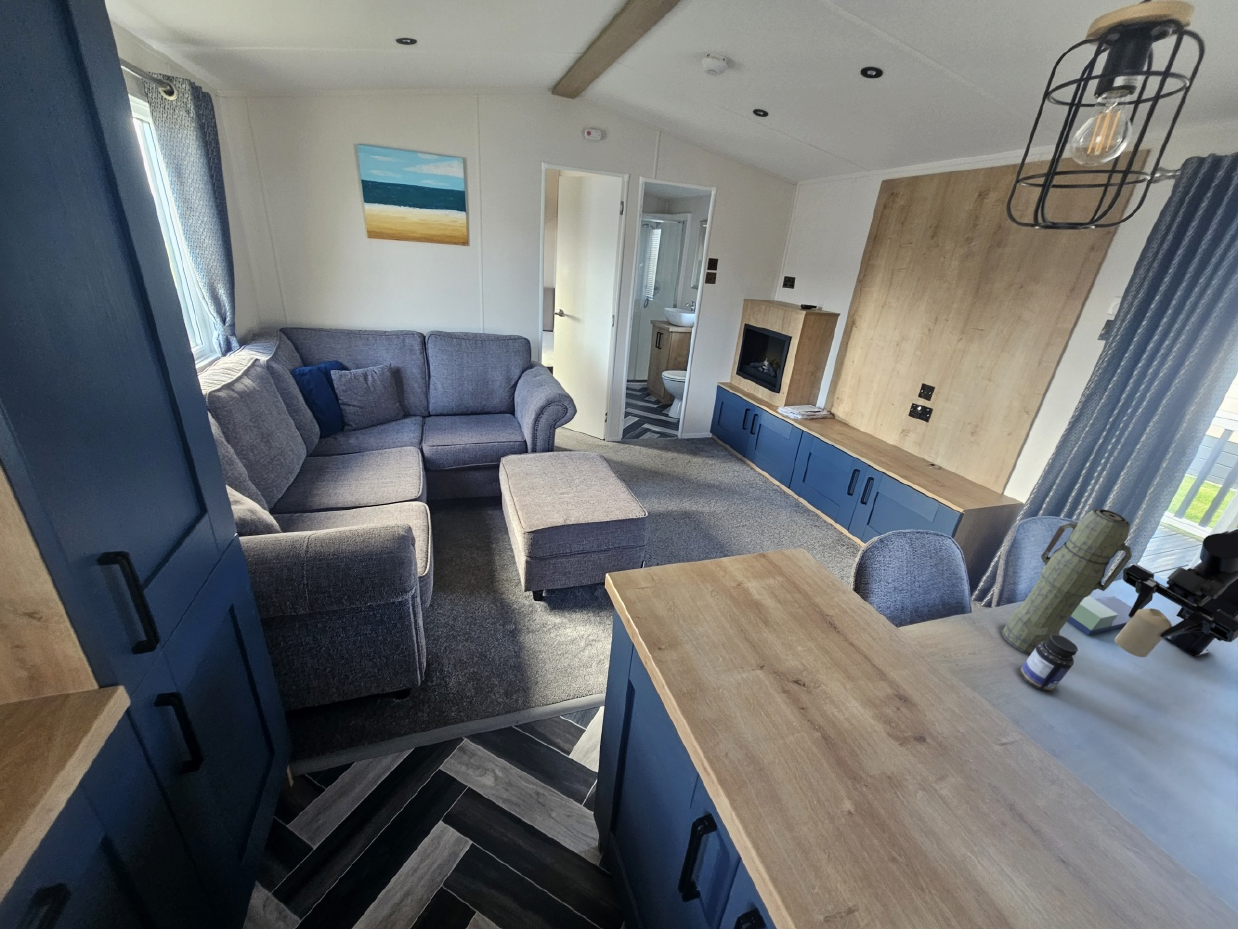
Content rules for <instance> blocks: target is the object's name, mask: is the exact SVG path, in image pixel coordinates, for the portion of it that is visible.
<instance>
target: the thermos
mask: <svg viewBox="0 0 1238 929" xmlns="http://www.w3.org/2000/svg"><path fill="white" fill-rule="evenodd" d="M1067 529H1072V531H1071V532H1070V534H1069V536H1068V539H1067V541H1064V543H1063V544H1062V546H1060V547H1059V548H1058V549H1056V550H1055V551H1054V552H1053V553H1052V554H1051V552H1052V550H1053V549H1054V547H1055V546H1056V545H1057V543H1058V541H1059V540H1060V539H1061V537H1062V535H1063V534H1064V533H1065V531H1066V530H1067ZM1130 529H1131V522H1130V521H1129V520H1127V518H1126V517H1124V516H1123V515H1121V514H1119V513H1117V512H1115V511H1111V510H1109V509H1104V508H1094V509H1092V510H1091V511H1089V512H1087V513H1086V514H1085V515H1084V516H1083V517H1082V518H1081V519H1079V521H1078V522H1077V523H1076V522H1073V521H1070V522H1067V523H1063V524H1060V525H1059V527H1058V529H1057V530H1056V532H1055V533H1054V535H1053V537H1052V538H1051V540H1050V542H1049V544H1048V545H1047V547H1046V548H1045V550H1044V551H1043V552H1042V554H1041V555H1040V558H1041V560H1042V563H1044V566H1043V567H1042V569H1041V571H1040V577H1039V579H1038V580H1037V581H1036V583H1035V584H1034V585H1033V587H1032V589H1031V590H1030V592H1029V594H1027V596H1026V598H1025V599H1024V601H1023V602H1022V603H1021V605H1020V606H1018V607H1016V609H1014V610H1013V612H1011V614H1010V615H1009V617H1008V619H1007V621H1006V624H1005V626H1004V627H1003V628H1002V629H1001V635H1002V637H1003V638H1004V640H1005V641H1006V642H1007V643H1008V644H1009V645H1011V646H1012V647H1013V648H1014V649H1016V650H1017V651H1020V652H1021V653H1023V654H1026V655H1028V656H1030V655H1031V654H1032V652H1033V651H1034V649H1035V648H1036V647H1037V645H1038V644H1039V643H1040V642H1044V641H1046V642H1047V639H1048V638H1049V636H1050V635H1051V634H1057V635H1061V630H1062V628H1063V627H1064V626H1065V624H1067V622H1068V621H1067V620H1068V619H1069V618H1070V616H1071V615H1072V614H1073V612H1074V611H1075V609H1076V608H1077V607H1078V605H1079V604H1080V603H1081V601H1082V600H1083V599H1084V598H1085V597H1087V596H1091V595H1092V593H1093V592H1094V591H1096V590H1099V591H1102V592H1105V591H1106V590H1107V589H1108V588H1109V587H1110V586H1111V584H1113V582H1114V581H1115V579H1117V577H1118V576H1119V574H1120V573H1121V572H1122V571H1123V569H1124V568H1125V567H1126V565H1128V564H1127V563H1128V562H1129V561H1130V560H1131V559H1132V554H1133V553H1132V547H1131V546H1128V545H1126V543H1125V542H1126V541H1127V539H1128V537H1129V534H1130ZM1118 552H1124V553H1125V555H1124V556H1123V557H1122V559H1121V560H1120V561H1119V562H1118V564H1117V565H1116V567H1115V568H1114V569H1113V571H1112V572H1111V573H1110V574H1109V576H1108V577H1107V579H1105V581H1104V582H1103V581H1102V580H1103V578H1104V577H1105V573H1106V569H1107V566H1108V565H1109V564H1110V560H1111V559H1113V558H1114V557H1115V556H1116V555H1117V553H1118ZM1050 554H1051V555H1050ZM1049 555H1050V556H1049ZM1102 582H1103V583H1102Z"/></svg>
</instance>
